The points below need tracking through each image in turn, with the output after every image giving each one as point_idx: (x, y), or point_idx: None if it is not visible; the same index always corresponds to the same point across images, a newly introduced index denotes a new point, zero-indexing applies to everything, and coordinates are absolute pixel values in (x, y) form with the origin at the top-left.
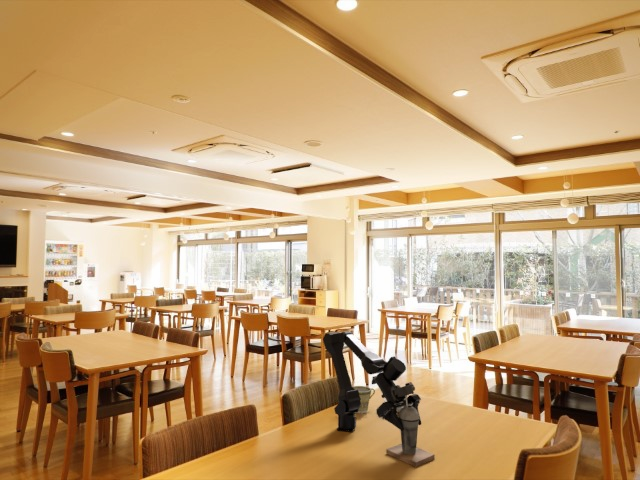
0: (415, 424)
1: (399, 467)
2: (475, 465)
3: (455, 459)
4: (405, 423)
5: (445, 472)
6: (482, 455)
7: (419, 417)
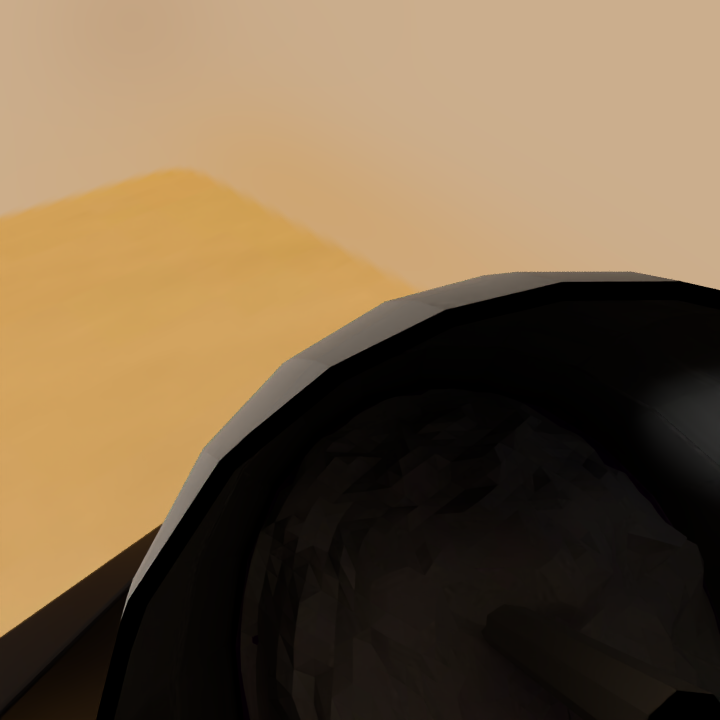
0: (471, 386)
1: None
2: (197, 258)
3: (200, 345)
4: (676, 511)
5: (382, 290)
6: (49, 296)
7: (76, 594)
